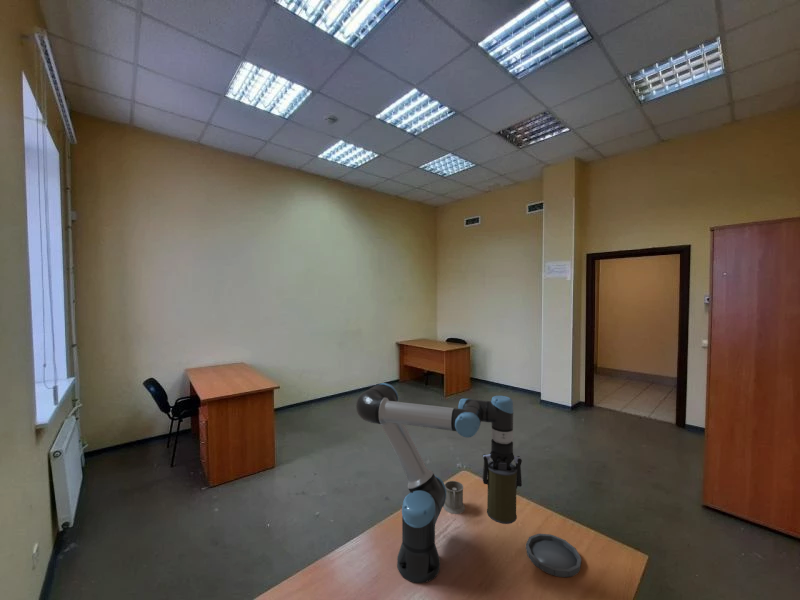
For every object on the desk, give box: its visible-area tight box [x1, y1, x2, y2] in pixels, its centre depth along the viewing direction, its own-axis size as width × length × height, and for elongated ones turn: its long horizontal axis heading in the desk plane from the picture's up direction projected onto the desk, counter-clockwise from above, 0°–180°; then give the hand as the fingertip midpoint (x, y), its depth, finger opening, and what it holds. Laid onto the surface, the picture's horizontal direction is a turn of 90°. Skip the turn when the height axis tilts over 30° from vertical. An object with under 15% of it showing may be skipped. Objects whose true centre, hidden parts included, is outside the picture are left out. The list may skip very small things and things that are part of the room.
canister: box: [486, 460, 518, 525], centre depth 120 cm, size 11×10×20 cm
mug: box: [442, 480, 466, 515], centre depth 149 cm, size 14×10×12 cm
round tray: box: [525, 533, 582, 578], centre depth 122 cm, size 18×18×2 cm
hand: (501, 503), depth 120 cm, fingers open, 6 cm apart
